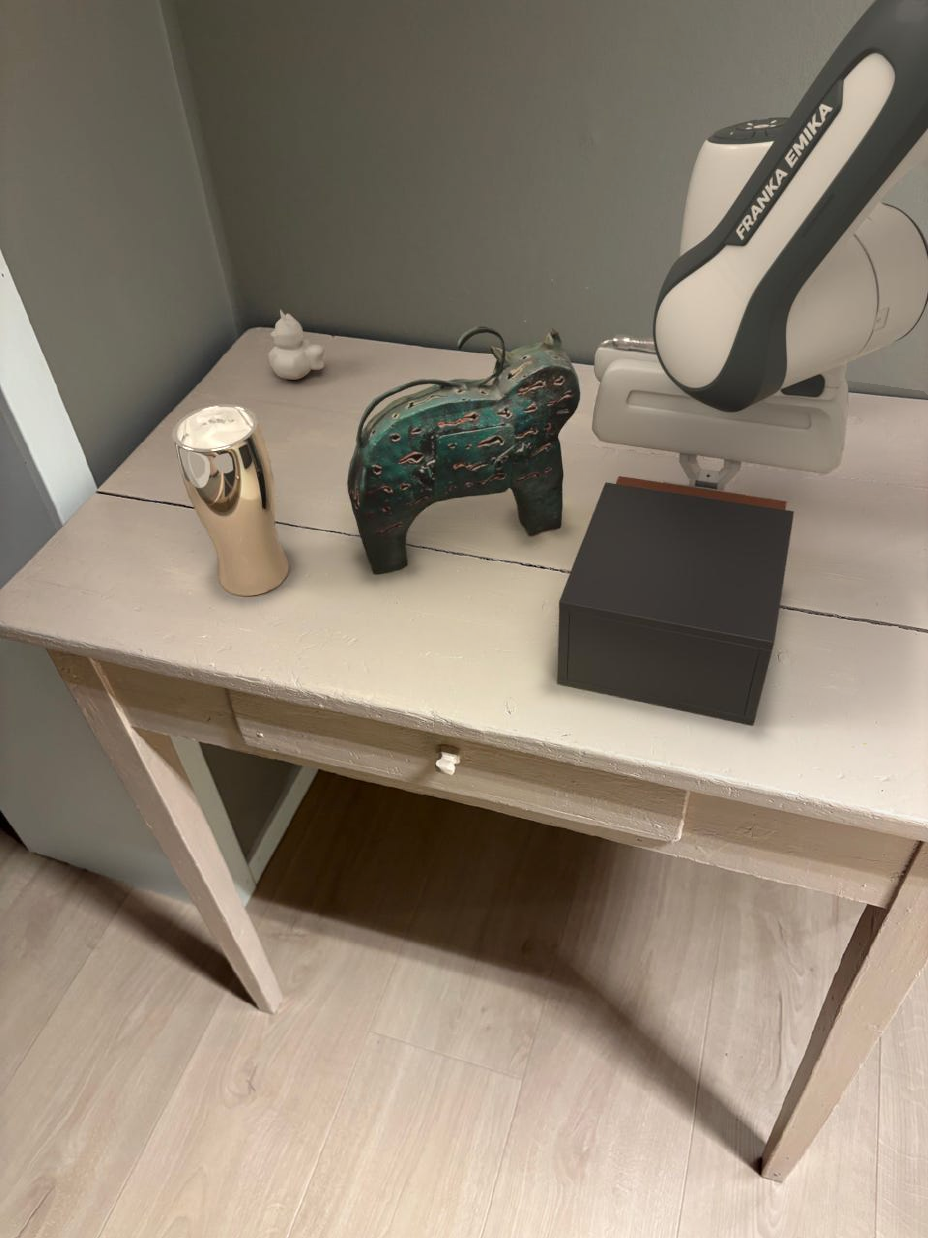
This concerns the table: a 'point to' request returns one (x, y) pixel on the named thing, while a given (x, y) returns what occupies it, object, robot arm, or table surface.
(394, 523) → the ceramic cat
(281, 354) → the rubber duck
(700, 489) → the drawer
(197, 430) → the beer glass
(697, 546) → the cabinet
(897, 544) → the table surface
